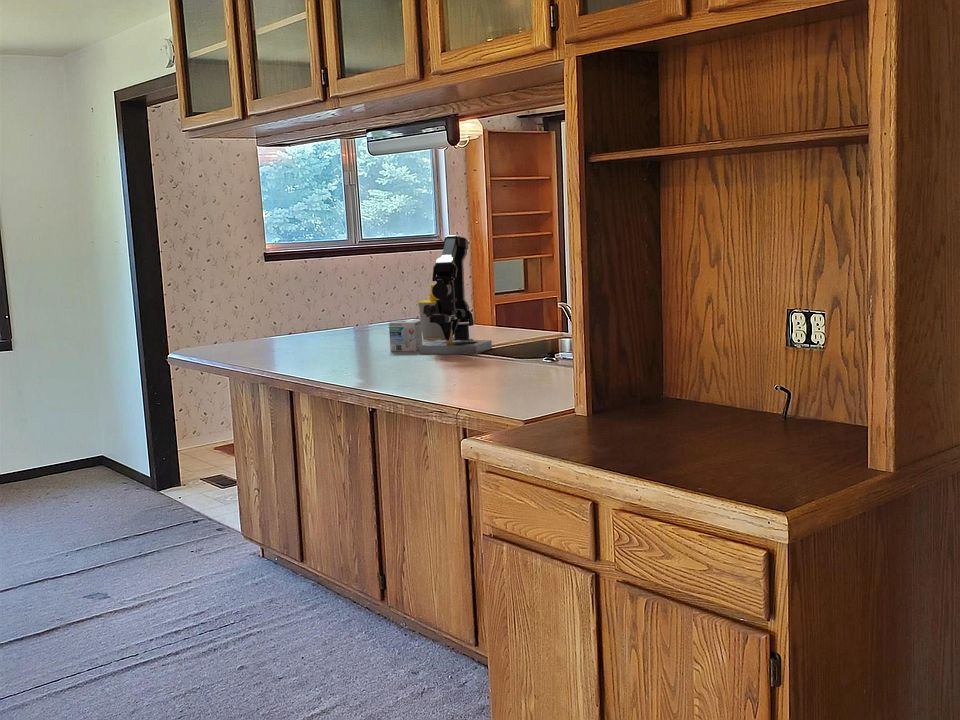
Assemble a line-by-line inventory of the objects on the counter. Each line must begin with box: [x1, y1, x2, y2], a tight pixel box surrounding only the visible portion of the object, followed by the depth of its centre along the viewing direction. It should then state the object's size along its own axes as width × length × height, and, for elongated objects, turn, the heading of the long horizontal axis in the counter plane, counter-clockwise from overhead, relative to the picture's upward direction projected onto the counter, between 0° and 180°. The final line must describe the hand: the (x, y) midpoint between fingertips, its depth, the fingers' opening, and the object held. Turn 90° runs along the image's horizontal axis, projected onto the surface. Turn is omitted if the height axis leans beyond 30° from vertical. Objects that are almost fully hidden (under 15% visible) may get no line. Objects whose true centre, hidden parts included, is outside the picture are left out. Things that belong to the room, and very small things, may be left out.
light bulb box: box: [388, 319, 424, 352], centre depth 349 cm, size 11×7×11 cm, turn 73°
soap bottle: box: [418, 283, 445, 340], centre depth 381 cm, size 13×13×21 cm
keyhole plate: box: [419, 339, 493, 355], centre depth 340 cm, size 14×22×3 cm, turn 67°
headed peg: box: [445, 330, 454, 343], centre depth 340 cm, size 4×4×9 cm
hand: (449, 339), depth 340 cm, fingers closed on headed peg, 2 cm apart
